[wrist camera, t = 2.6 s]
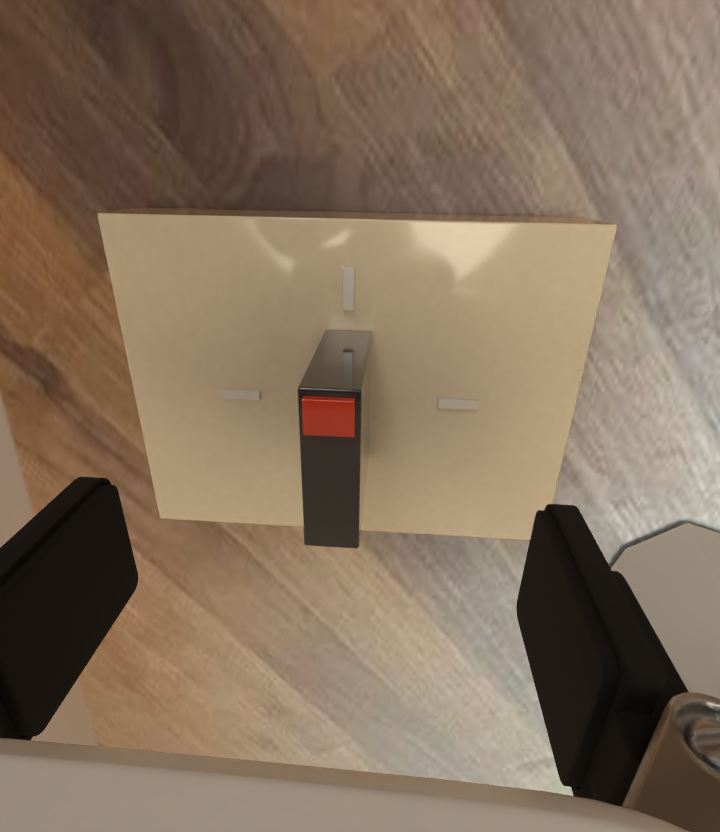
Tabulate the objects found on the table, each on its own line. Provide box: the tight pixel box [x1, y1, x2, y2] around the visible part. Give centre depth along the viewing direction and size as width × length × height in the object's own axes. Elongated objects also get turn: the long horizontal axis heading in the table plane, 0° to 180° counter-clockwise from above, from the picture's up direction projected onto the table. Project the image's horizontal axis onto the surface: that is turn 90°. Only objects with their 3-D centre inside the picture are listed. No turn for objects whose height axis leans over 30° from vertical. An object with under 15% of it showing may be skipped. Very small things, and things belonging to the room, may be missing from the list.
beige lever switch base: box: [97, 208, 617, 540], centre depth 19 cm, size 16×12×3 cm
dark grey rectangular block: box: [297, 330, 372, 548], centre depth 15 cm, size 5×2×5 cm, turn 179°
